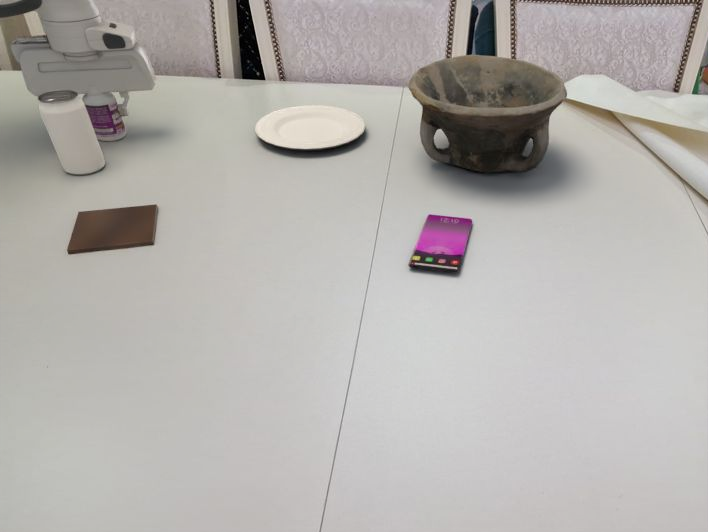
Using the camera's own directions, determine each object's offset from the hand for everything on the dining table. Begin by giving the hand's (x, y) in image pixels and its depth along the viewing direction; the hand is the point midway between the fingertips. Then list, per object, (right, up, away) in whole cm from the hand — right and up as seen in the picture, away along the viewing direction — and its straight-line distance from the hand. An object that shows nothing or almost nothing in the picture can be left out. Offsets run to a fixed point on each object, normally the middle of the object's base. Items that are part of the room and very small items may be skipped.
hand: (105, 116), depth 112 cm
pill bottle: (0, -3, +2) cm, 4 cm away
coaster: (+14, -25, -21) cm, 35 cm away
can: (+1, -12, -7) cm, 14 cm away
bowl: (+69, -8, +2) cm, 69 cm away
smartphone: (+62, -27, -20) cm, 71 cm away
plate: (+36, -1, +7) cm, 37 cm away
